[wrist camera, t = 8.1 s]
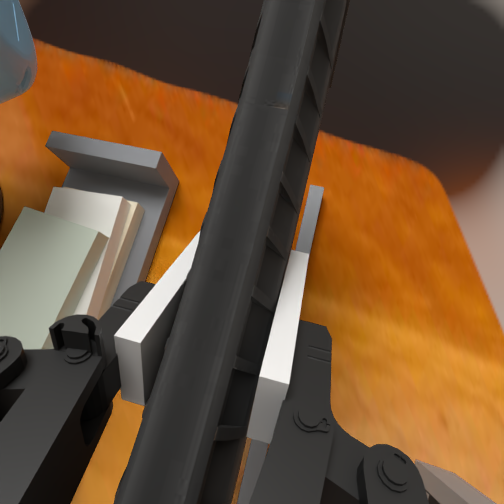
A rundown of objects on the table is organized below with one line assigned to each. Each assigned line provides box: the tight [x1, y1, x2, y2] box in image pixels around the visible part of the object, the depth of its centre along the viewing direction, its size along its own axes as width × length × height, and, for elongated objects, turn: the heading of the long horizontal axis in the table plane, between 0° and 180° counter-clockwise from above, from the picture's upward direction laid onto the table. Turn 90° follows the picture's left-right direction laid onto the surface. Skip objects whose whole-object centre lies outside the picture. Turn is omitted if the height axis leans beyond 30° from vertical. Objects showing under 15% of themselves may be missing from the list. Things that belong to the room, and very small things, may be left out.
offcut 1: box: [0, 206, 109, 349], centre depth 24 cm, size 6×12×2 cm, turn 161°
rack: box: [45, 131, 324, 504], centre depth 26 cm, size 23×28×5 cm
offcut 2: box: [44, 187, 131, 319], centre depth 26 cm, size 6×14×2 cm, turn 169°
